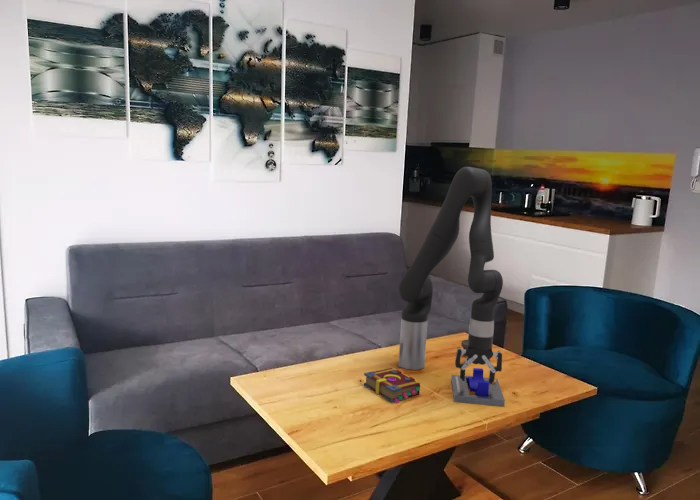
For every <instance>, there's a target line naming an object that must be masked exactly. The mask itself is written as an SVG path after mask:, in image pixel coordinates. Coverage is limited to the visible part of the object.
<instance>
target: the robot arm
mask: <svg viewBox="0 0 700 500" xmlns="http://www.w3.org/2000/svg"><path fill="white" fill-rule="evenodd" d="M492 183H493V182H492V178H491V174H490V173H489V172H488V171H487V170H486V169H482V168H479V167H478V168H477V167H472V166H463V167H461V168H460V169H459V170H458V171H457V172H456V173H455V174H454V177H453V178H452V181H451V183H450V186H449V188H448V191H447V194H446V196H445V199H444V201H443V203H442V205H441V207H440V208H439V209H440V210H439V211H438V214H437V215H436V218H435V219H434V222H433V223H432V225H431V226H430V227H429V230H428V232H427V235H426V236H425V238H424V239H423V240H424V241H423V243H422V244H421V246H420V248H419V250H418V252H417V254H416V255H415V258H414V260H413V262H412V263H411V265H410V266H409V268H408V269H407V270H406V272H405V273H404V275H403V277H402V278H401V280H400V282H399V286H398V294H399V296H400V298H401V300H403V301H404V302H407V304H406V305H405V307H404V308H403V309H402V310H401V315H400V317H401V319H400V333H399V334H400V335H399V349H398V350H399V351H398V368H402V369H405V370H413V371H414V370H415V371H417V370H422V369H424V368H425V364H426V351H427V349H426V348H427V347H426V346H427V332H428V331H427V330H428V319H429V318H428V317H429V316H430V315H429V314H430V312H431V310H432V309H431V308H432V301H433V300H432V299H433V292H434V289H433V283H432V279H431V278H430V277H429V276H430V274H431V273H432V272H433V270H434V269H435V268H436V267H437V266H438V265H439V264H440V263H441V262H442V261H443V260H444V259H445V258H446V257H447V256H448V254H449V253H450V252H451V250H452V249H453V247H454V245H455V243H456V241H457V239H458V237H459V233H460V217H461V212H462V211H463V208H464V206H465V204H466V202H467V201H468V199H469V198H472V199H471V200H472V203H473V217H472V221H471V225H470V229H469V233H468V243H469V251H470V252H469V253H470V261H469V263H470V264H469V269H468V276H467V282H468V286H469V289H470V290H471V292H473V293H475V294H482V296H481V297H479V298H475V299H474V300H473V301H472V304H471V312H470V320H469V326H468V337H467V340H468V347H467V349H463V348H462V347H460V346H459V347H457V348H456V355H455V361H454V364H455V367H456V368H458V369H460V370H459V371H460V372H459V375H460V378H461V379H462V381H465V376H466V369H467V368H468V367H469V366H470V365H472V364H474V365H478V364H479V365H483V366H484V365H486V366H487V367H488V369H489V377H488V378H489V383H490V384H492V382H494V379H495V378H496V373H497V372H502V370H503V367H502V366H503V365H502V364H503V353H502V351H501V350H498V351H493V343H494V332H495V331H494V330H495V321H494V320H495V312H496V311H495V309H496V306H497V304H498V300H499V299H500V295H501V293H502V290H503V285H504V279H503V276H502V274H501V272H500V271H498V270H497V269H484V268H485V264H486V263H489V262H492V261H493V260H494V259H495V252H494V244H493V235H492V225H491V224H492V194H493V193H492V192H493V191H492V189H493V185H492ZM464 353H466V354H467V356H468V357H465V359H464V360H463V362H461V357H462V356H464V355H463V354H464ZM493 357H494V358H495V359H496V366H494V365H493V363H492V361H491V359H492V358H493Z"/></svg>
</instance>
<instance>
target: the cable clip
mask: <svg viewBox="0 0 700 500" xmlns="http://www.w3.org/2000/svg"><path fill="white" fill-rule="evenodd" d="M467 376H468V383H467V387H468V391H469V392H470V393H474V395H475V396H486V397H488V391H489V382H488V381H483V377H484V368H478V367H473V368H472V376H473V377H470V376H471V375H467Z"/></svg>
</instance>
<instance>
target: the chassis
mask: <svg viewBox="0 0 700 500" xmlns="http://www.w3.org/2000/svg"><path fill="white" fill-rule="evenodd" d="M468 376H470V377H473V375H472V376H471V375H465V381H462V379H461V378H460V374H451V379H450V381H451V382H450V383H451V389H452V390H451V391H452V396H453V403H464V404H471V405H474V404H475V405H484V406H485V405H487V406H495V407H505V401H506V399H505V397H504V394H503V392H502V388H501V385H500V381H499V379H498V378H497V377H495V379H494V382H492V384H490V383H489V391H488V397H486V396H476V394H474V395H473V394H470V393H469V392H470V391H469V387H468ZM483 381H488V382H489V377H484V376H483Z"/></svg>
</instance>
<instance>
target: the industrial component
mask: <svg viewBox="0 0 700 500" xmlns="http://www.w3.org/2000/svg"><path fill="white" fill-rule="evenodd" d="M460 345H461V348H462V349H467V347H468V339H463V340H461V343H460ZM463 356H464V357H465V358H467V357H468V356H467V354H466V353H464V354H463Z"/></svg>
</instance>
